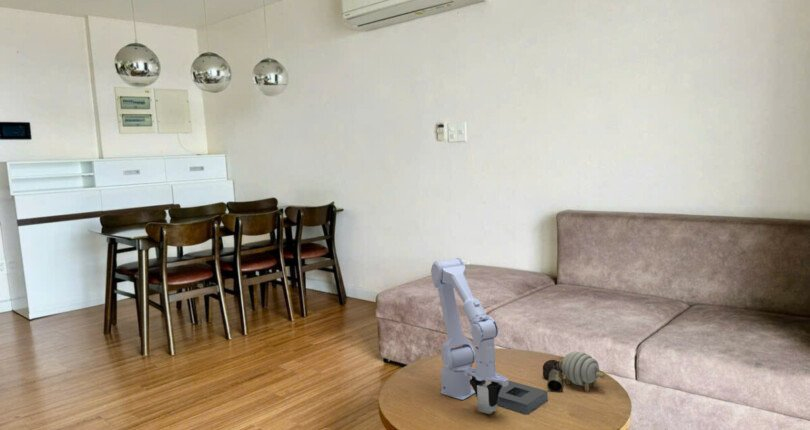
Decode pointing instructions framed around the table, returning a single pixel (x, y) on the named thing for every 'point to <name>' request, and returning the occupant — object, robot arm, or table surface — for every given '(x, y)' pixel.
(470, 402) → the table surface
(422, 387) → the table surface
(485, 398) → the grey wooden block
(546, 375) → the tube with rough end
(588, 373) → the toy sheep
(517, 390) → the grey slab with hole
